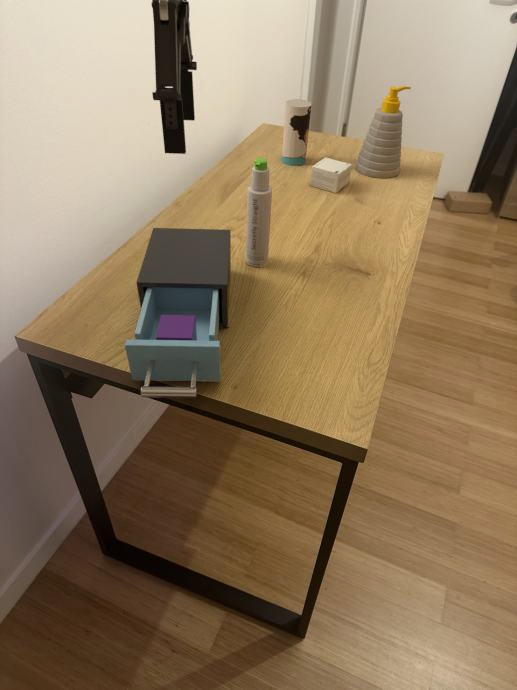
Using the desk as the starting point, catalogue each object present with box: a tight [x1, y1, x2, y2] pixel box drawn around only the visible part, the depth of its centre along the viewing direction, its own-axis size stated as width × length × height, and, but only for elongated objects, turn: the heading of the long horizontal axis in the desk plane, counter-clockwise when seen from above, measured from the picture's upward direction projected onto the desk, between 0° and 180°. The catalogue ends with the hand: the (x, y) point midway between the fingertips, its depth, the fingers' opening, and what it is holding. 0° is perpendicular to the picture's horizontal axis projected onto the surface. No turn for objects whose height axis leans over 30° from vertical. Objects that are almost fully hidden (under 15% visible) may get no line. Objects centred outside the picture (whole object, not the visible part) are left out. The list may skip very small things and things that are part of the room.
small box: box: [309, 156, 353, 194], centre depth 117 cm, size 8×8×5 cm
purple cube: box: [156, 315, 197, 341], centre depth 67 cm, size 5×5×5 cm
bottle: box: [245, 157, 273, 268], centre depth 85 cm, size 4×4×20 cm
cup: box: [281, 98, 313, 167], centre depth 125 cm, size 7×7×15 cm
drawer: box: [124, 287, 222, 399], centre depth 67 cm, size 22×13×7 cm, turn 1°
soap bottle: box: [354, 85, 412, 179], centre depth 121 cm, size 12×12×20 cm
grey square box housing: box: [136, 227, 232, 329], centre depth 79 cm, size 17×14×9 cm
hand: (181, 135), depth 66 cm, fingers open, 13 cm apart
